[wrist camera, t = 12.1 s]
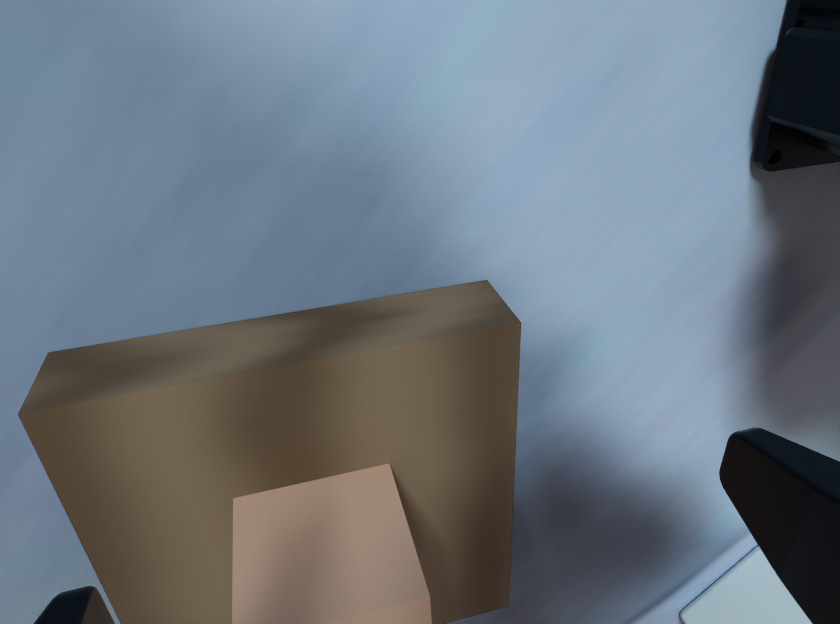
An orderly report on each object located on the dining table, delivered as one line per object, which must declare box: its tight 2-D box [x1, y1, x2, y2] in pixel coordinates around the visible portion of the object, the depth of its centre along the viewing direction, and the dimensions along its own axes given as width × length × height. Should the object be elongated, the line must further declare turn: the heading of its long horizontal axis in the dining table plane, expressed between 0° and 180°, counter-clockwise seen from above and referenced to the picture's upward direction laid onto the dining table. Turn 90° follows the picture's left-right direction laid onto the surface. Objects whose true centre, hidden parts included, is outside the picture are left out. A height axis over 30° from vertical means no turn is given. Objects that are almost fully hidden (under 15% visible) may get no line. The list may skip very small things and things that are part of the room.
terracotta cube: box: [232, 464, 432, 624], centre depth 19 cm, size 5×5×5 cm
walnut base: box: [18, 280, 521, 624], centre depth 22 cm, size 14×14×3 cm
